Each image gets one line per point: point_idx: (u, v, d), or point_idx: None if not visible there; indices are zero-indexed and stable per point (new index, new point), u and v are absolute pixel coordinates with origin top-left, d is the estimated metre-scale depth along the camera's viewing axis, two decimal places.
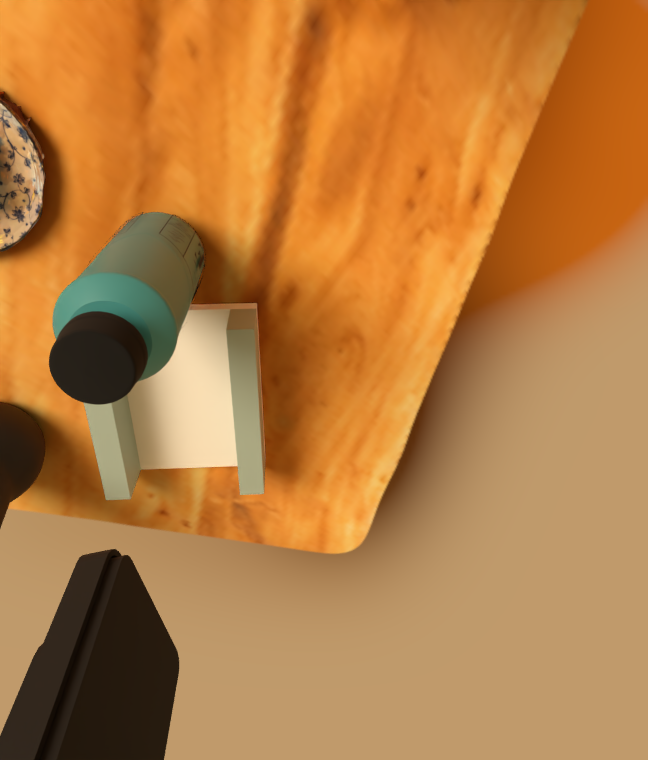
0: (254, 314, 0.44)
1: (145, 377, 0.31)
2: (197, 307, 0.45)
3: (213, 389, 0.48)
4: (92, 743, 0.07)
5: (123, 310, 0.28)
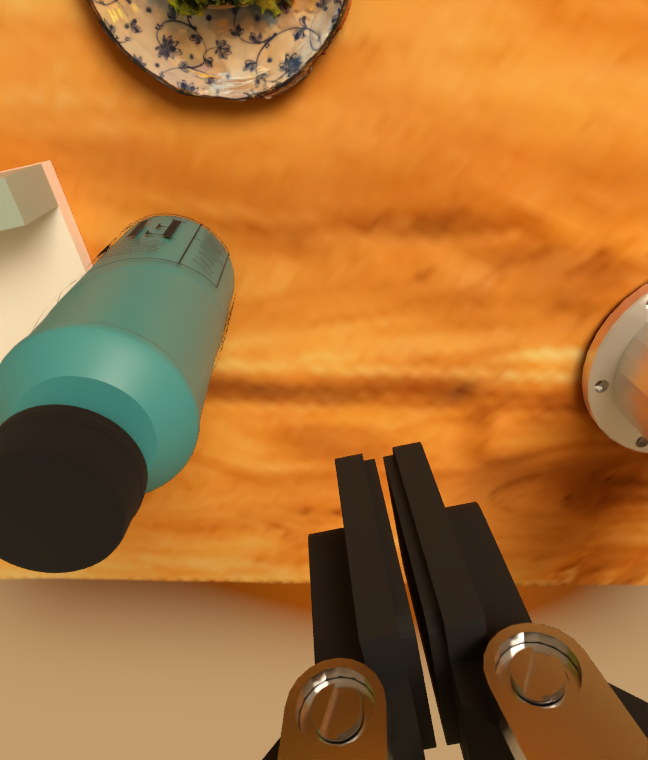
0: None
1: None
2: None
3: None
4: None
5: (146, 454, 0.17)
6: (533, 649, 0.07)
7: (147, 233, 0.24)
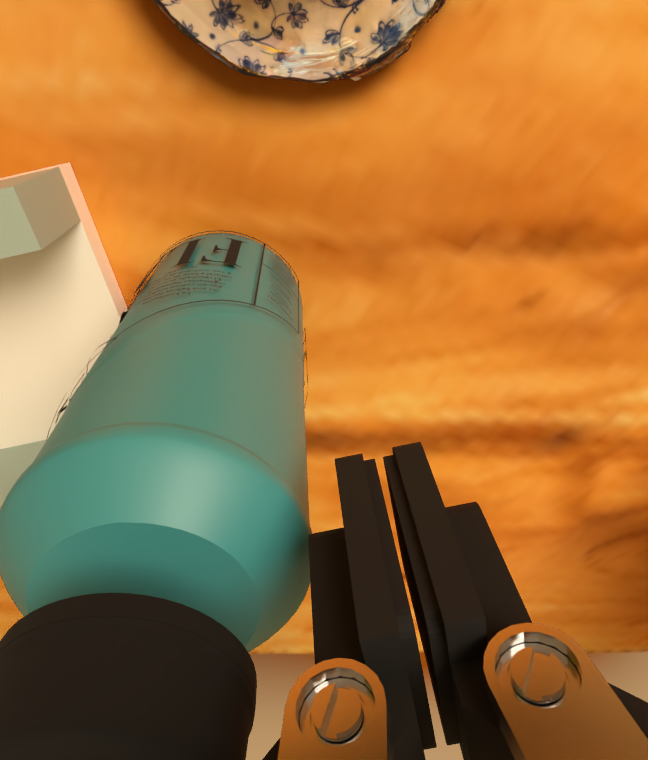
0: None
1: None
2: None
3: None
4: None
5: (241, 627, 0.11)
6: (533, 649, 0.07)
7: (204, 260, 0.18)
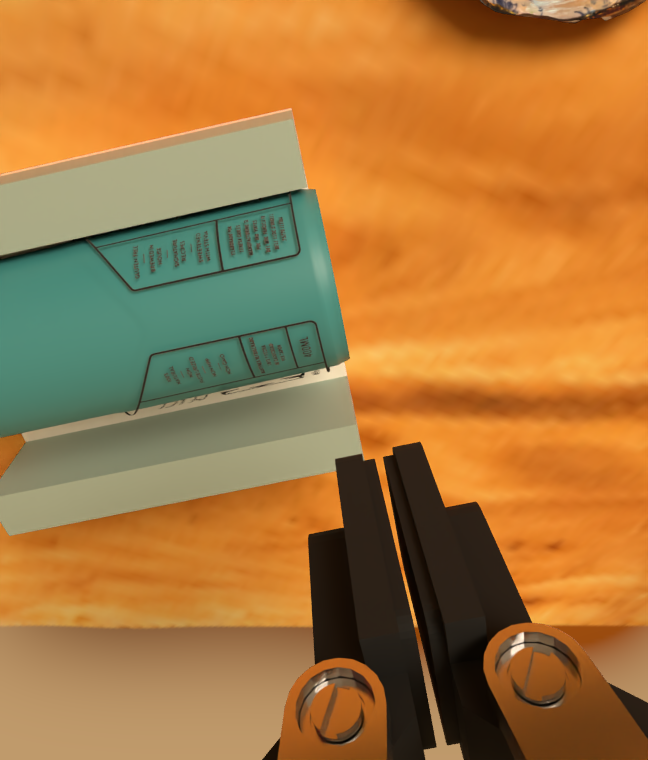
0: None
1: None
2: None
3: None
4: None
5: None
6: (533, 649, 0.07)
7: None
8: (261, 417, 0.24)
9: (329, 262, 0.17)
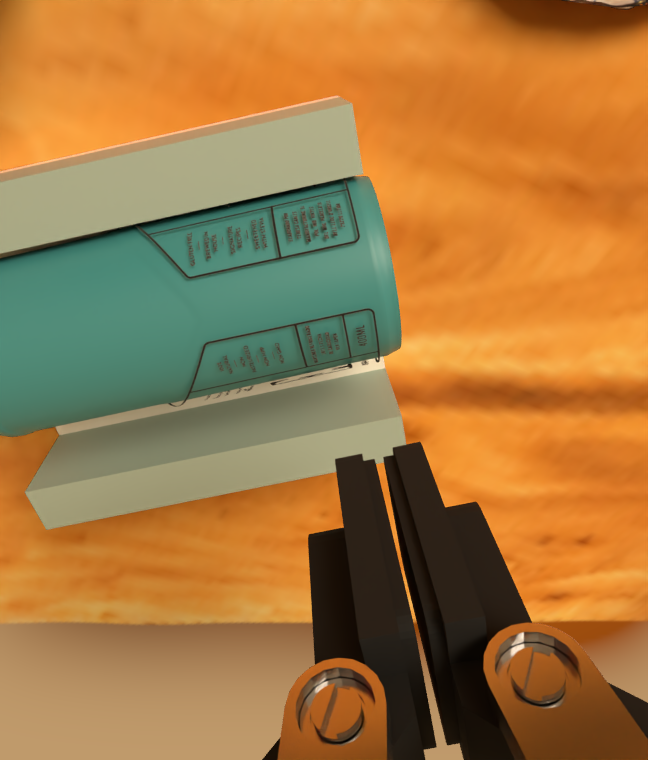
0: None
1: None
2: None
3: None
4: None
5: None
6: (533, 649, 0.07)
7: None
8: (301, 409, 0.24)
9: (388, 249, 0.17)
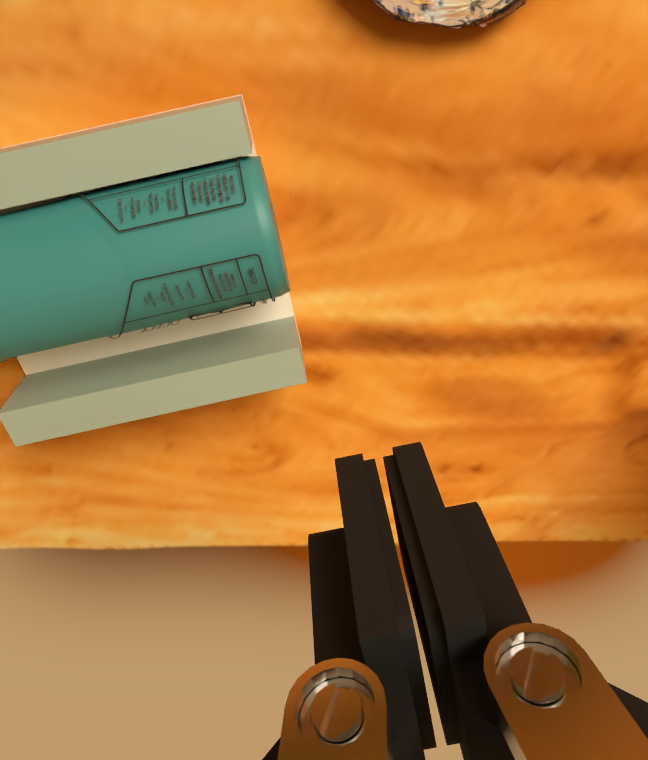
0: (302, 356, 0.31)
1: None
2: None
3: None
4: None
5: None
6: (533, 649, 0.07)
7: None
8: (223, 347, 0.30)
9: (268, 209, 0.23)
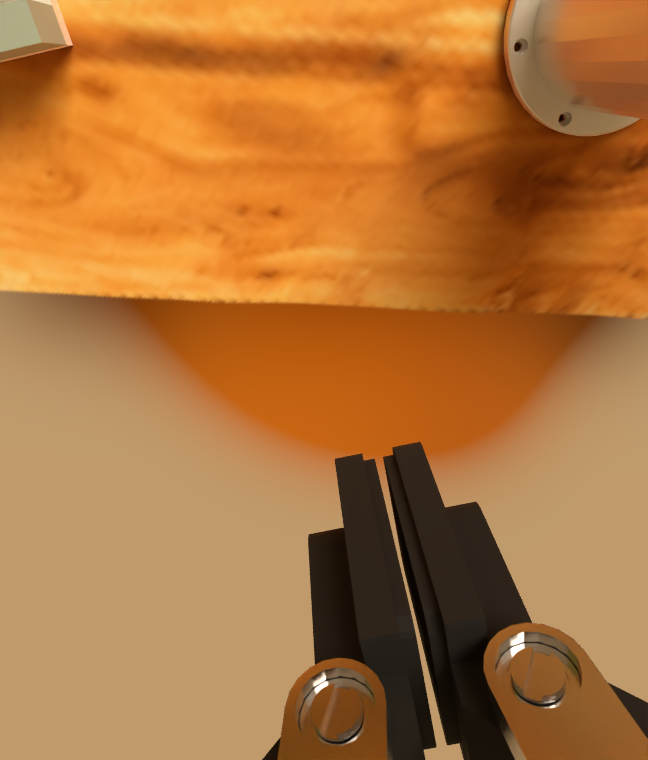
0: (58, 42, 0.33)
1: None
2: None
3: None
4: None
5: None
6: (533, 649, 0.07)
7: None
8: None
9: None
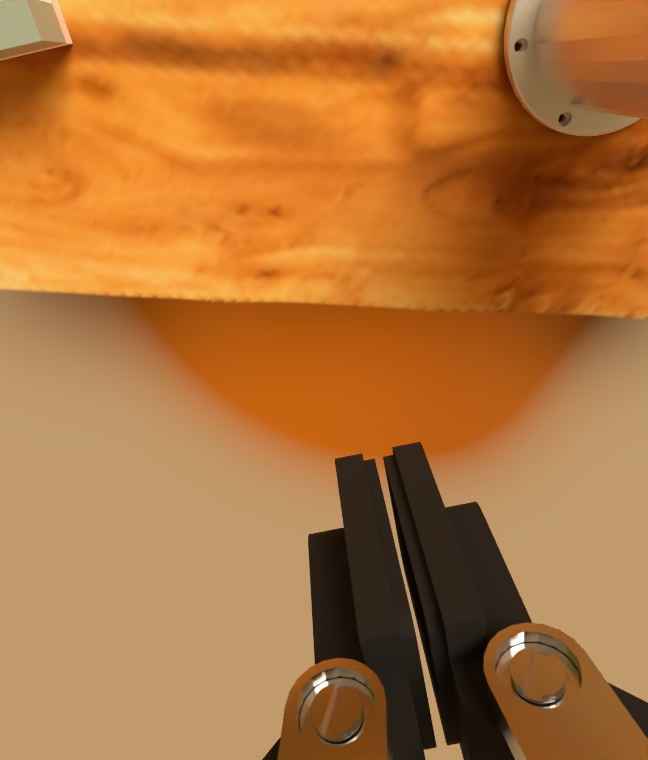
0: (58, 40, 0.33)
1: None
2: None
3: None
4: None
5: None
6: (533, 649, 0.07)
7: None
8: None
9: None
